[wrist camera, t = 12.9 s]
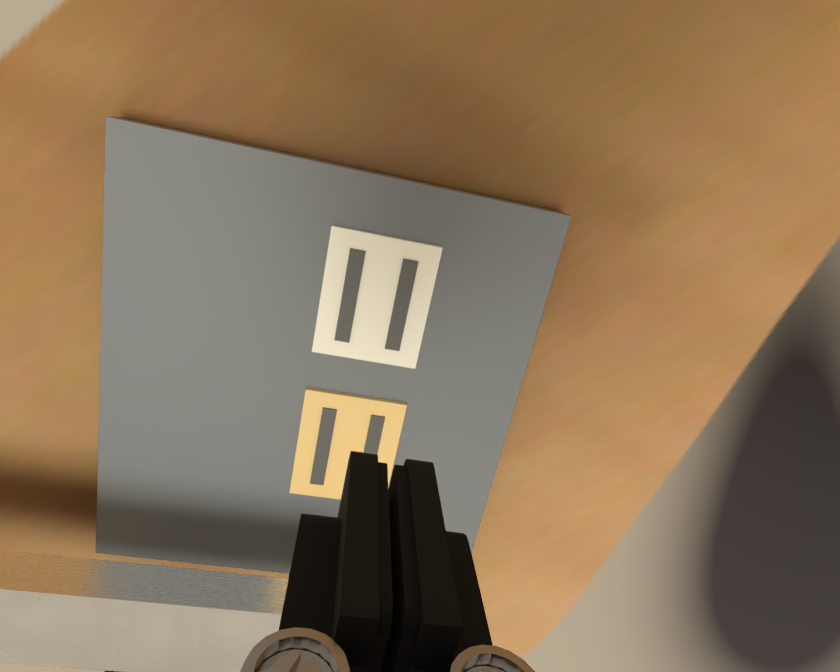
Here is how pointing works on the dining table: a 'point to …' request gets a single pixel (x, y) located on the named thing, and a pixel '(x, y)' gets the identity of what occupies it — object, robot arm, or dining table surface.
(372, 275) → the label board
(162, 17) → the dining table surface
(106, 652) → the bar
